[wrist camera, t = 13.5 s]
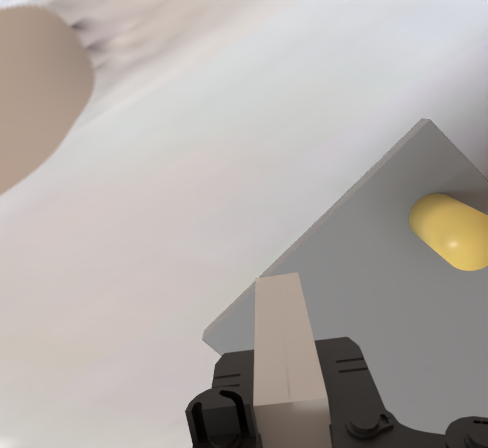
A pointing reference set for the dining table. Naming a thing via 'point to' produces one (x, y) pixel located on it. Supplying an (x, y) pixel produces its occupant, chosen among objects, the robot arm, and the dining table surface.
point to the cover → (398, 281)
